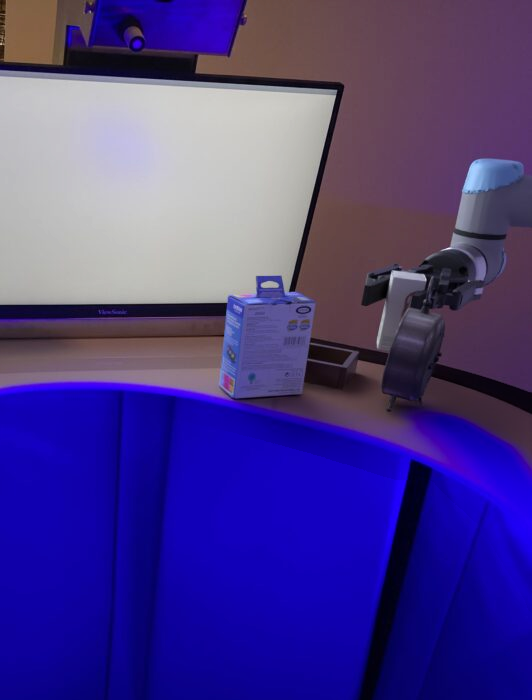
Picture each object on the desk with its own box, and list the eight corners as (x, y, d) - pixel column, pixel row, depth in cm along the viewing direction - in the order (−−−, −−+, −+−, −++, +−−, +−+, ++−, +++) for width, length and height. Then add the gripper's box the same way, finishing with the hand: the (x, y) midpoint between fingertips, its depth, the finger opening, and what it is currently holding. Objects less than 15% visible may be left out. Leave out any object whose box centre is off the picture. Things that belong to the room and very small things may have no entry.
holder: (355, 372, 117) (359, 351, 116) (343, 389, 111) (347, 367, 109) (297, 360, 121) (300, 340, 119) (281, 377, 114) (284, 355, 113)
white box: (410, 355, 114) (427, 281, 110) (376, 350, 115) (391, 277, 111) (409, 344, 118) (425, 272, 114) (376, 339, 120) (391, 269, 115)
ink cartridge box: (283, 380, 113) (300, 272, 107) (304, 395, 108) (323, 283, 102) (215, 384, 110) (228, 274, 104) (233, 400, 105) (249, 285, 99)
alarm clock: (392, 387, 112) (418, 265, 105) (434, 396, 110) (464, 272, 103) (372, 412, 104) (399, 281, 97) (418, 423, 101) (449, 289, 94)
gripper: (509, 312, 122) (454, 345, 106) (385, 286, 133) (318, 313, 117) (523, 260, 119) (469, 286, 103) (394, 238, 130) (327, 258, 114)
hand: (389, 300), depth 110 cm, fingers closed on white box, 6 cm apart
